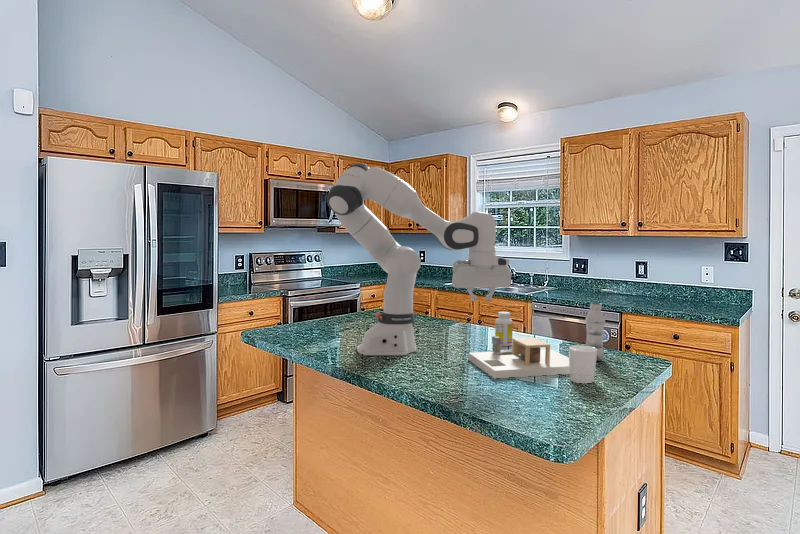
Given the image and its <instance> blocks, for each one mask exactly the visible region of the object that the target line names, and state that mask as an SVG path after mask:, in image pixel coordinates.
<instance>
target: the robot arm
mask: <svg viewBox="0 0 800 534" xmlns="http://www.w3.org/2000/svg"><path fill="white" fill-rule="evenodd" d="M366 200H369V201H373V202H374V203H376V204H378V205H379V206H380V207H382V208H383V209H385V210H387V211H389V212H390V213H393V214H394V215H397V216H399V217H402V218H405V219H408V220H411V221H413V222H415V223H417V224H418V225H419V226H421V227H422V228H424V229H426V230H427V231H428V232H430V233H432V235H434V237H435V238H436V239H437V241H438V243H439V244H440V245H441V246H442V247H443V248H444V249H446V250H448V251H462V250H465V249H468V259H467V260H466V259H464V260H460V259H459V260H458V259H457V260H456V261H455V262H454V263H452V280H451V285H452V287H454V288H455V289H467V293H468V294H469V295H470V301H471V302H477V295H474V293H473V292H474V288H475V289H476V288H477V289H478V288H488V290H489V292H488V294H486V295H485V300H486V301H489V302H491V301H492V300H493V298H492V297H493V295H494V293H495V292H496V288H509V287H510V286H511V283H512V273H511V268H510V267H509V265H510V260H509V259H507V258H504V257H501V256H499V255H496V248H495V242H496V239H497V236H496V234H497V232H496V231H497V230H496V229H497V227H496V219H495V217H494V215H492V214H490V213H488V212H484V211H483V212H482V211H473V212H471V213H470V214H468V215H467V216H465V217H463V218H461V219H459V220H455V221H452V220H451V221H450V220H446V219H444V218H442V217H441V216H439V215H438V214H437V213H435V212H433V211H432V210H431V209H430V208H428V207H426V205H424V204H423V202H422V200H421V199H420V197H419V194H418V193H417V191H416V190H415V189H414V188H413V187H412V186H411V185H410V184H409V183H407V182H406V181H405V180H403V179H401V178H400V177H398V176H397V175H396V174H394V173H392V172H390V171H388V170H386V169H383V168H381V167H379V166H372V167H370V166H368V165H367V164H365V163H361V162H357V163H353V164H352V165H350V166H348V167H347V168H346V169H345V171H344V172H343V173H341V174H340V175H339V176H338V178H337V179H336V181H335V183H334V184H333V186H332V187H331V188H330V189H329V190H328V194H327V195H326V202H327V206H328V208H329V209H330V210H331V211H332V212H333V213H334V214H335V217H336V218H337V220H338V222H339V223H340V224H341V225H342V227H343V228H344V230H346V232H348V233H349V234H350V236H352V237H353V238H354V240H356V242H357V243H359V245H361V246H362V247H363V248H364V250H366V251H367V252H368V254H369V255H370V256H371V258H372V259H373V260H374V261H375V262H376V264H377V265H378V266H379V267H380V268H381V269H382V270H383V272H386V273H387V279H386V283H385V287H384V290H383V311H382V312H378V311H377V312H376V313H375V317H376V318H377V323H375V324H374V325H373V326H371V327H370V328H369V329H368V330H366V331H365V333H364V334H363V339H362V343H360V344H358V345H357V346H356V351H357V352H358V353H359V354H360V355H362V354H363V356H406V355H408V354H411V353H414V352H415V351H417V350H418V348H417V344H416V339H415V333H414V332H415V331H414V326H415V312H414V290H415V289H414V288H415V284H416V279H417V275H418V271H420V267H421V264H422V260H421V257H420V255H419V253H418V252H416V250H414V248H411V247H409V246H404V245H403V246H402V245H400V244H399V243H398V242H397V241H396V240H395V237H393V235H392V234H391V233H390V231H389V228H388V226H386V225H385V224H384V223H383V222H382V221H381V220H380V219H379V218H378V217H377V215H375V214H374V213H373V212H372V211H371V210H370V209H369V208H368V207H367V206H366V205H365V202H364V201H366Z"/></svg>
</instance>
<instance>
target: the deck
mask: <svg viewBox="0 0 800 534" xmlns="http://www.w3.org/2000/svg"><path fill="white" fill-rule="evenodd" d="M521 346H524V347H526V349H525V361H523V360H522V359H521V358H520V357H519V356H517V355H515V354H521ZM530 348H540V362H530ZM511 350H512V353H511V354H495V353H493V352H492V351H478V352H468V361H469V362H471V363H472V364H474V365H475V366H476V367H478V368H479V369H480V370H482V371H483V372H484V373H486V374H487V373H488V374H487V375H489V376H490V377H491V376H492V379H494V380H496V378H500V379H510V378H509V377H515V378H529V377H528V376H531V377H543V376H542V375H547V376H557V374H562V375H570V371H569V356H566V355H564V354H562V353H559V352H557V351H556V350H553V349H551V344H550V343H548V342H545V341H543V340H541V339H538V338H536V337H516V338H514V337H512V345H511Z"/></svg>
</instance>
